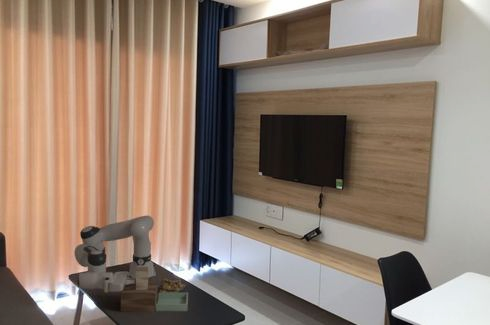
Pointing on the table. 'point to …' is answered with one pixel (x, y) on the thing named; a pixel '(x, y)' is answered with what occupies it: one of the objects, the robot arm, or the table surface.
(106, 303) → the table surface
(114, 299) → the table surface
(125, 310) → the walnut ledge
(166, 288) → the mineral formation
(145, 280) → the birch block
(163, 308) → the bin
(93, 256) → the robot arm
